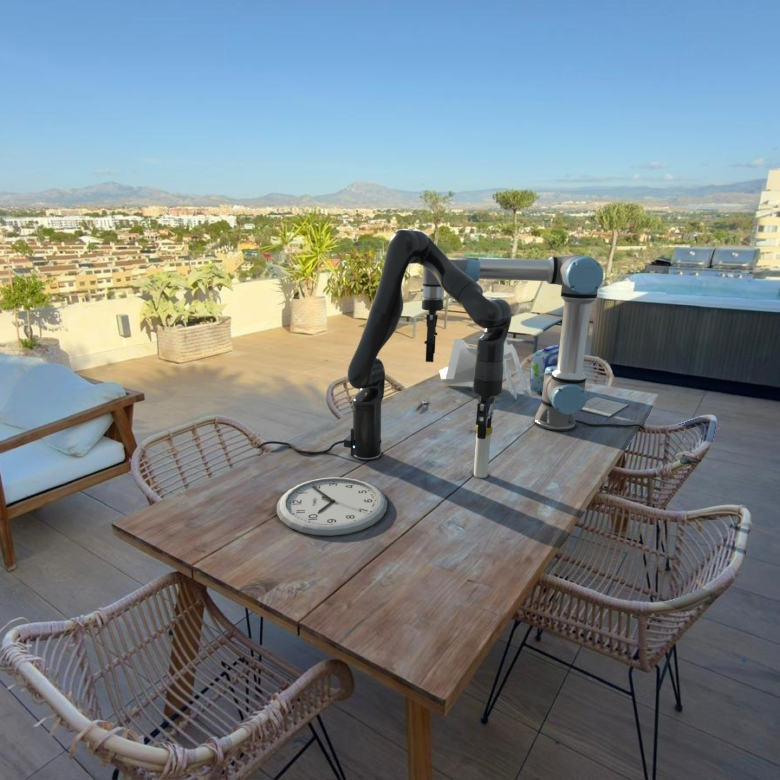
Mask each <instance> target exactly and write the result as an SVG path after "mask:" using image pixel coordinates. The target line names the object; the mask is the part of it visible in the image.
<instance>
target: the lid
mask: <svg viewBox="0 0 780 780" xmlns="http://www.w3.org/2000/svg"><path fill="white" fill-rule="evenodd" d="M477 431H478V425H476V424H475V434H477ZM492 433H493V424H492V423H491V427H490V428H486V435H490V434H491V435H492Z"/></svg>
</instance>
